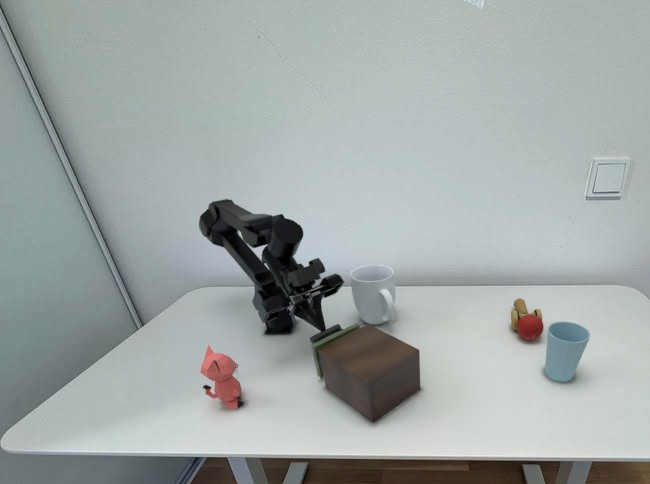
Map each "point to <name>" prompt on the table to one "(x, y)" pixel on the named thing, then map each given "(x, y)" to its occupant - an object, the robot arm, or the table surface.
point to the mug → (374, 292)
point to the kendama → (526, 321)
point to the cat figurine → (222, 378)
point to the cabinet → (371, 370)
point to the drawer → (328, 341)
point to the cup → (564, 349)
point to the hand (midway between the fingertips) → (323, 330)
